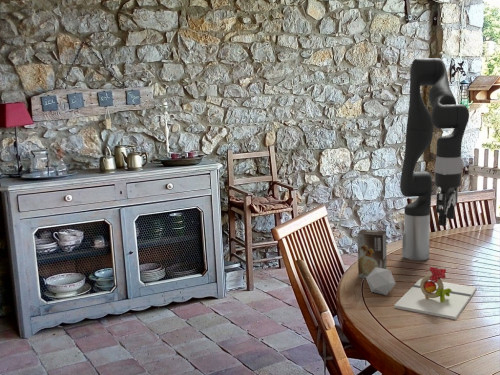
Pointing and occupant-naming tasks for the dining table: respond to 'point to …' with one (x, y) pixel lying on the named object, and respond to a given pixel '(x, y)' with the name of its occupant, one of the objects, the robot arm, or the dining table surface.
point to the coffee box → (371, 251)
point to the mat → (437, 300)
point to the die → (380, 281)
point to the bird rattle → (434, 285)
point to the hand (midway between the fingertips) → (446, 222)
